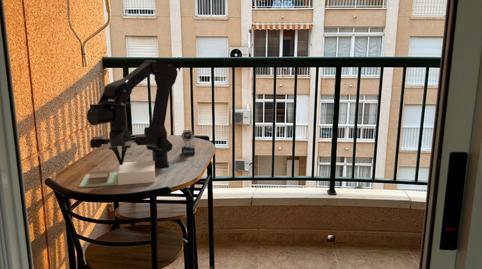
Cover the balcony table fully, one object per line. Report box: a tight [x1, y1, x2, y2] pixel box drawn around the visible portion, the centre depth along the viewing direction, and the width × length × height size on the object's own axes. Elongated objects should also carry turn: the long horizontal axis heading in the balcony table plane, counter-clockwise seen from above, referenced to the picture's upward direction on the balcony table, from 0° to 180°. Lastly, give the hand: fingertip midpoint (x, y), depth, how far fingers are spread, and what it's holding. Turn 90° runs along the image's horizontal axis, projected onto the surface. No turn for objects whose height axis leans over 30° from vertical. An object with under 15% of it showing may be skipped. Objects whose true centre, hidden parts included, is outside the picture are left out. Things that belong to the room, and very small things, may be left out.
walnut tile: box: [88, 168, 111, 184], centre depth 139 cm, size 9×6×2 cm, turn 12°
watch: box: [181, 128, 196, 156], centre depth 172 cm, size 6×8×11 cm
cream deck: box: [117, 160, 156, 186], centre depth 142 cm, size 13×12×4 cm
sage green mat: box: [78, 171, 118, 188], centre depth 140 cm, size 13×12×1 cm
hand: (121, 164), depth 140 cm, fingers closed
